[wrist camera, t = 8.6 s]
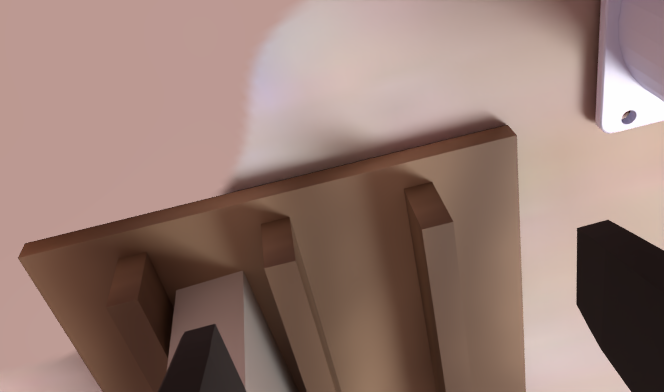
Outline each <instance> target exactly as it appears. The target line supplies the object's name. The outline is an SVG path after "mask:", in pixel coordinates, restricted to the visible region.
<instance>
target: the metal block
mask: <svg viewBox="0 0 664 392" xmlns="http://www.w3.org/2000/svg"><path fill="white" fill-rule="evenodd" d="M212 324H216V326H217V328H218V330H219V333H220V335H221V337H222V339H223V341H224V344H225V346H226V348H227V350H228V352H229V354H230V357H231V359H232V361H233V363H234V365H235V367H236V370H237V372H238V374H239V376H240V378H241V381H242V383H243V385H244V387H245V389H246V392H299V391H298V389H297V386H296V384H295V382H294V380H293V378H292V376H291V373H290V371H289V369H288V367H287V365H286V363H285V360H284V358H283V356H282V354H281V352H280V350H279V347H278V345H277V343H276V341H275V339H274V337H273V334H272V332H271V330H270V328H269V326H268V324H267V321H266V319H265V317H264V315H263V313H262V311H261V308H260V306H259V304H258V302H257V300H256V298H255V295H254V293H253V291H252V289H251V287H250V285H249V282H248V280H247V278H246V276H245V274H244V271H239V272H236V273H233V274H229V275H226V276H223V277H219V278H216V279H213V280H209V281H206V282H203V283H199V284H196V285H193V286H189V287H186V288H182V289H179V290H176V297H175V306H174V314H173V322H172V331H171V339H170V347H169V356H168V364H167V370H168V367H169V365H170V363H171V360H172V358H173V356H174V353H175V351H176V348H177V346H178V344H179V341H180V339H181V337H182V335H183V334H184V332H185V331H189V330H193V329H197V328H200V327H204V326H208V325H212Z"/></svg>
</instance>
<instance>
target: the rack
mask: <svg viewBox="0 0 664 392" xmlns="http://www.w3.org/2000/svg"><path fill="white" fill-rule="evenodd" d="M18 259H19V260H20V262H21V263H22V265H23V267H24V268H25V270H26V271H27V273H28V274H29V276H30V277H31V279H32V281H33V282H34V284H35V285H36V287H37V288H38V290H39V291H40V293H41V295H42V296H43V298H44V300H45V301H46V302H47V304H48V306H49V307H50V309H51V310H52V312H53V314H54V315H55V317H56V318H57V320H58V322H59V323H60V325H61V326H62V328H63V329H64V331H65V333H66V334H67V336H68V337H69V339H70V340H71V342H72V343H73V345H74V347H75V348H76V350H77V352H78V353H79V355H80V356H81V358H82V359H83V361H84V363H85V364H86V366H87V367H88V369H89V370H90V372H91V374H92V375H93V377H94V378H95V380H96V381H97V383H98V385H99V386H100V388H101V389H102V391H103V392H158V390H159V388H160V385H161V383H162V381H163V379H164V376H165V374H166V372H167V364H168V356H169V347H170V339H171V331H172V322H173V314H174V306H175V297H176V290H179V289H182V288H186V287H189V286H193V285H196V284H199V283H203V282H206V281H209V280H213V279H216V278H219V277H223V276H226V275H229V274H233V273H236V272H239V271H244V274H245V276H246V278H247V280H248V282H249V285H250V287H251V289H252V291H253V293H254V295H255V298H256V300H257V302H258V304H259V306H260V308H261V311H262V313H263V315H264V317H265V319H266V321H267V324H268V326H269V328H270V330H271V332H272V334H273V337H274V339H275V341H276V343H277V345H278V347H279V350H280V352H281V354H282V356H283V358H284V360H285V363H286V365H287V367H288V369H289V371H290V373H291V376H292V378H293V380H294V382H295V384H296V386H297V389H298V391H299V392H526V387H525V359H524V330H523V302H522V273H521V245H520V216H519V188H518V159H517V135H516V134H515V133H514V132H513V131H512V129H511V128H510V127H509V126H508V125H505V126H501V127H497V128H493V129H489V130H485V131H481V132H477V133H473V134H468V135H464V136H460V137H456V138H452V139H448V140H444V141H440V142H436V143H432V144H428V145H424V146H420V147H416V148H412V149H408V150H403V151H399V152H395V153H391V154H387V155H383V156H379V157H375V158H371V159H367V160H363V161H359V162H355V163H351V164H347V165H342V166H338V167H334V168H330V169H326V170H322V171H318V172H314V173H310V174H306V175H302V176H298V177H294V178H290V179H286V180H282V181H277V182H273V183H269V184H265V185H261V186H257V187H253V188H249V189H245V190H241V191H237V192H233V193H229V194H225V195H221V196H216V197H212V198H208V199H204V200H201V201H196V202H192V203H188V204H184V205H180V206H176V207H172V208H168V209H164V210H160V211H155V212H151V213H147V214H143V215H139V216H135V217H131V218H127V219H124V220H119V221H115V222H111V223H107V224H103V225H99V226H95V227H90V228H86V229H82V230H78V231H74V232H70V233H66V234H62V235H58V236H54V237H50V238H46V239H42V240H38V241H34V242H29V243H26V244H25V245H24V247H23V249H22V251H21V253H20V255H19V257H18Z"/></svg>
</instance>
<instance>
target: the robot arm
mask: <svg viewBox="0 0 664 392" xmlns="http://www.w3.org/2000/svg"><path fill="white" fill-rule="evenodd" d="M629 110H630V113H629V115H628V116H627V117H626V118H624V119H622V116H623V115H624V113H625V112H627V111H629ZM595 121H596V125H597V126H598V127H599V128H600V129H601V130H602V131H603V132H605V133H615V132H619V131H623V130H627V129H632V128H636V127H640V126H644V125H648V124H652V123H656V122H660V121H664V0H601V9H600V31H599V52H598V74H597V96H596V117H595ZM577 306H578V308H579V310H580V312H581V313H582V315H583V317H584V319H585V321H586V323H587V325H588V327H589V329H590V330H591V332H592V334H593V336H594V337H595V339H596V341H597V343H598V345H599V346H600V348H601V350H602V351H603V353H604V354H605V355H606V357H607V358H608V360H609V361H610V363H611V364H612V365H613V367H614V368H615V370H616V371H617V372H618V374H619V375H620V377H621V378H622V379H623V381H624V382H625V384H626V385H627V386H628V388H629V389H630V390H631V392H664V251H663V250H662V249H660V248H658V247H656V246H654V245H653V244H651V243H649V242H647V241H646V240H644V239H642V238H640V237H638V236H637V235H635V234H633V233H631V232H629V231H628V230H626V229H624V228H622V227H620V226H619V225H617V224H615V223H613V222H611V221H609V220H606V221H602V222H598V223H594V224H591V225H587V226H583V227H579V228H577ZM158 392H246V389H245V387H244V385H243V383H242V381H241V378H240V376H239V374H238V372H237V370H236V367H235V365H234V363H233V361H232V359H231V357H230V354H229V352H228V350H227V348H226V346H225V344H224V341H223V339H222V337H221V335H220V333H219V330H218V328H217V326H216V324H212V325H208V326H204V327H200V328H197V329H193V330H189V331H185V332H184V334H183V335H182V337H181V339H180V341H179V344H178V346H177V348H176V351H175V353H174V356H173V358H172V360H171V363H170V365H169V367H168V370H167V372H166V374H165V376H164V379H163V381H162V383H161V385H160V388H159V390H158Z"/></svg>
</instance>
